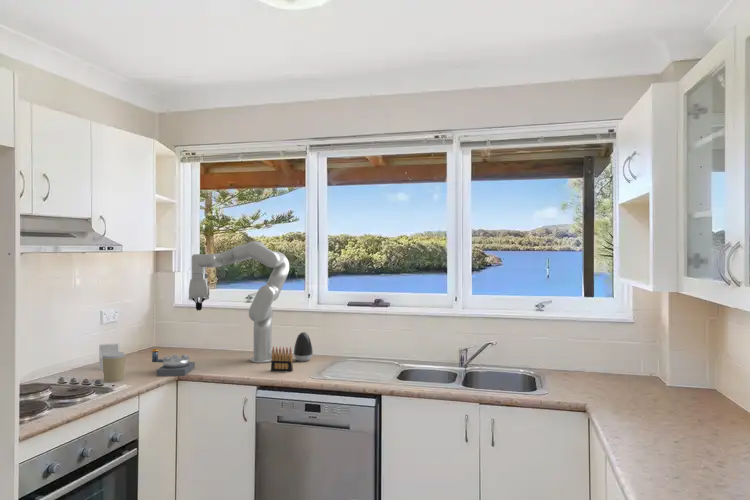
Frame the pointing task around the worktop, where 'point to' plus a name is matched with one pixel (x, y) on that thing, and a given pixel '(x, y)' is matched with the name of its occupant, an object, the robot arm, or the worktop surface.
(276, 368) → the ammunition clip
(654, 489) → the worktop surface
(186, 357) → the gold-rimmed tube plate
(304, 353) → the black egg shaped speaker
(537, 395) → the worktop surface
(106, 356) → the coffee cup
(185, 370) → the grey rectangular base plate
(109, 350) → the base with upright slab
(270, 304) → the robot arm
